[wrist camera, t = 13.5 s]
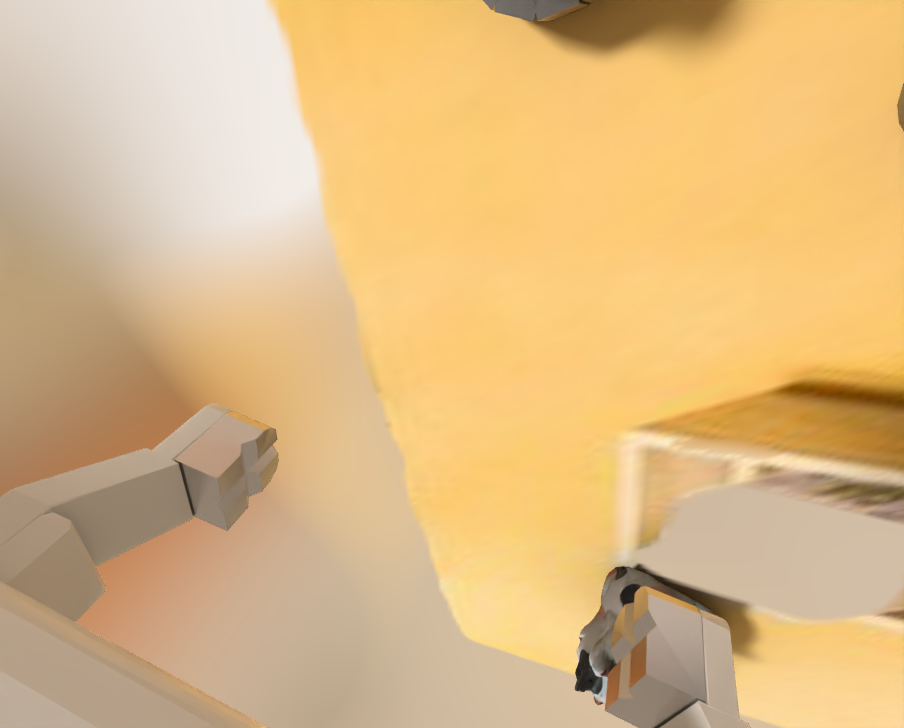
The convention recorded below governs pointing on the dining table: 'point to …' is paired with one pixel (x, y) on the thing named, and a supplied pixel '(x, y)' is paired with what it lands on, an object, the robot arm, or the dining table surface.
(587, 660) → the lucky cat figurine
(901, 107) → the olive pawn figure
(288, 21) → the dining table surface
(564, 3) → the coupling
